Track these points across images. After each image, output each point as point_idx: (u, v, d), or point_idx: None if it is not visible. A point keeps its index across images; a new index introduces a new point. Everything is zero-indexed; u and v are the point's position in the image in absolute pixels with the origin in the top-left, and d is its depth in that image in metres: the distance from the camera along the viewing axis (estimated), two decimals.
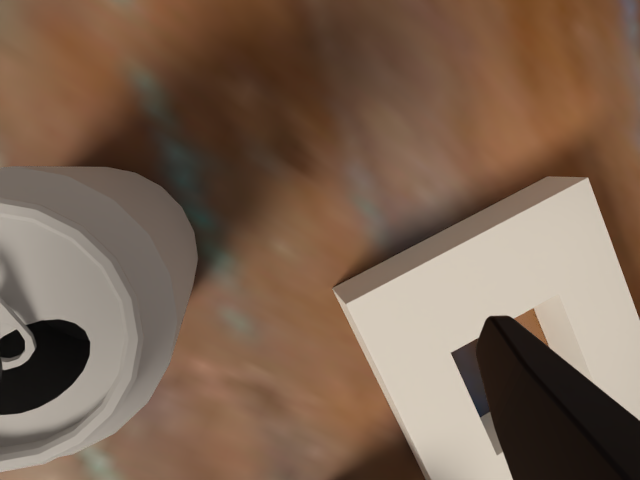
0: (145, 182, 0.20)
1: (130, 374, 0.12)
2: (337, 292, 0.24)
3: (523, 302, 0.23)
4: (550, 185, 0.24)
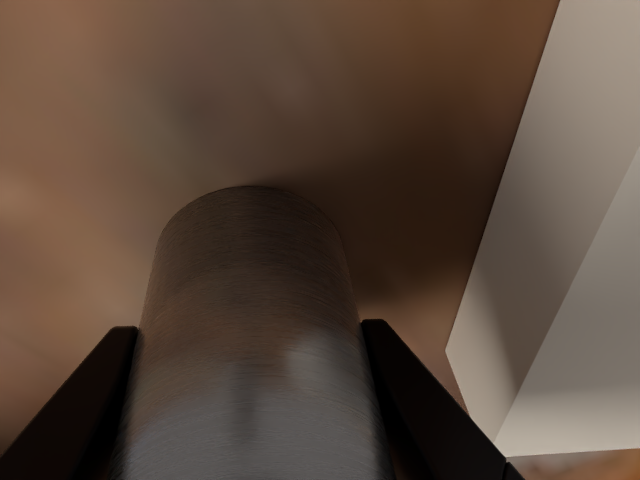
0: None
1: None
2: None
3: None
4: None
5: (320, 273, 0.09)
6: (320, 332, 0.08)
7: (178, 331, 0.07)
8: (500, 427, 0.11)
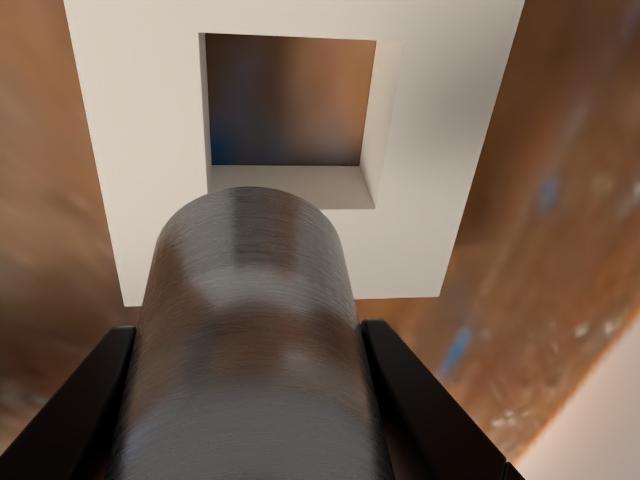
0: None
1: None
2: None
3: (347, 21, 0.14)
4: None
5: (318, 272, 0.09)
6: (319, 332, 0.08)
7: (176, 331, 0.07)
8: None
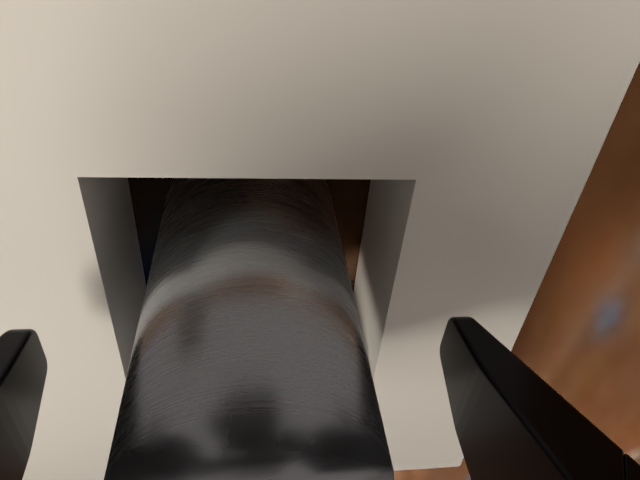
0: None
1: None
2: None
3: (323, 155, 0.09)
4: None
5: (308, 204, 0.10)
6: (306, 245, 0.09)
7: (188, 243, 0.09)
8: None
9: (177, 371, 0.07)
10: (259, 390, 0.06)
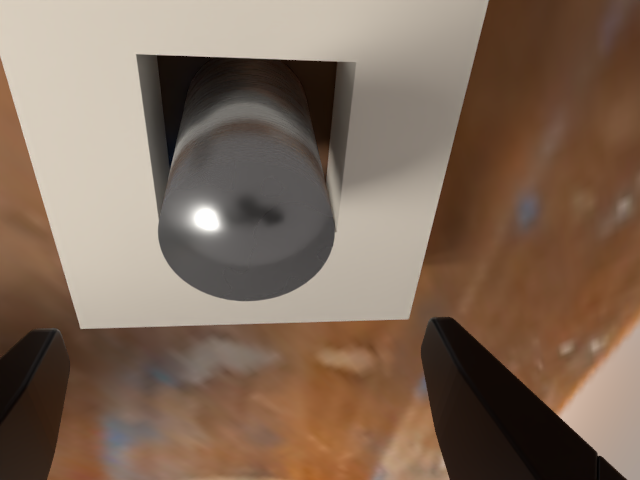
0: None
1: None
2: None
3: (294, 42, 0.13)
4: None
5: (287, 88, 0.15)
6: (284, 105, 0.14)
7: (206, 102, 0.14)
8: None
9: (203, 151, 0.12)
10: (251, 154, 0.11)
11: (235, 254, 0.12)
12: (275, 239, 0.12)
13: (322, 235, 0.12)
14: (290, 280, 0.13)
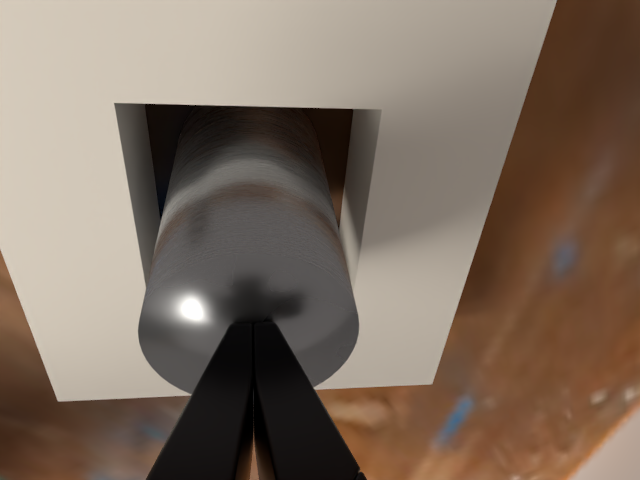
0: None
1: None
2: None
3: (307, 87, 0.11)
4: None
5: (297, 136, 0.13)
6: (295, 161, 0.11)
7: (200, 159, 0.11)
8: (49, 377, 0.16)
9: (195, 234, 0.09)
10: (256, 241, 0.09)
11: None
12: (285, 338, 0.10)
13: (343, 331, 0.10)
14: None
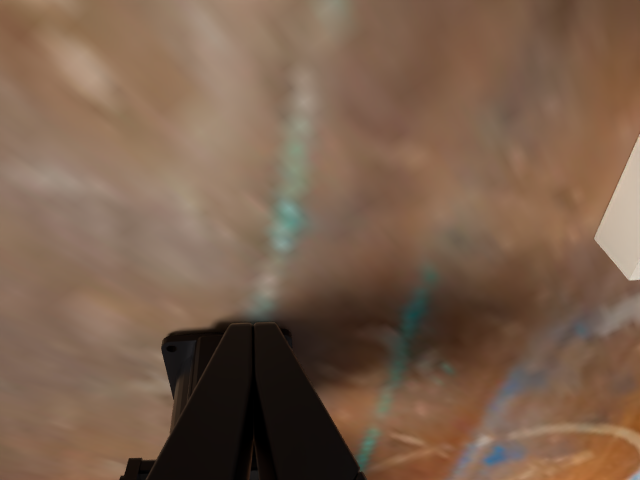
0: None
1: None
2: None
3: None
4: None
5: None
6: None
7: None
8: (638, 260, 0.22)
9: None
10: None
11: None
12: None
13: None
14: None
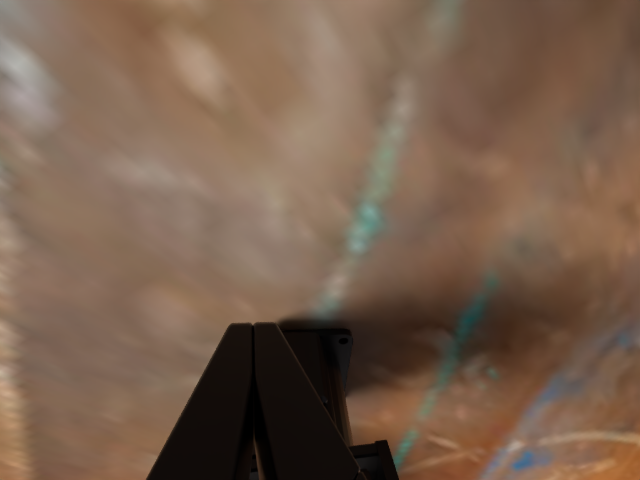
0: None
1: None
2: None
3: None
4: None
5: None
6: None
7: None
8: None
9: None
10: None
11: None
12: None
13: None
14: None
